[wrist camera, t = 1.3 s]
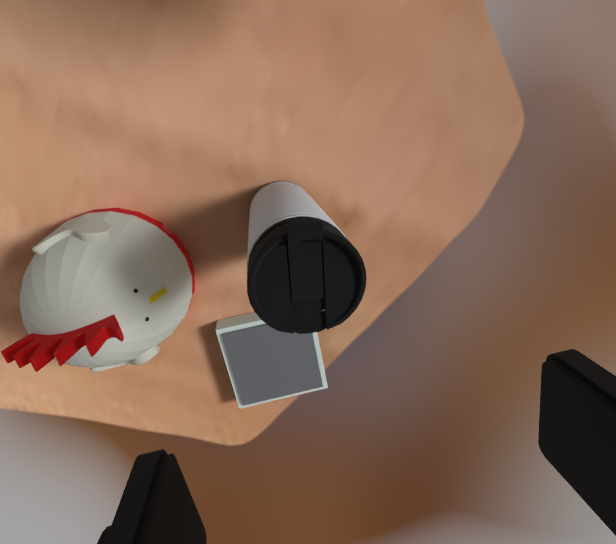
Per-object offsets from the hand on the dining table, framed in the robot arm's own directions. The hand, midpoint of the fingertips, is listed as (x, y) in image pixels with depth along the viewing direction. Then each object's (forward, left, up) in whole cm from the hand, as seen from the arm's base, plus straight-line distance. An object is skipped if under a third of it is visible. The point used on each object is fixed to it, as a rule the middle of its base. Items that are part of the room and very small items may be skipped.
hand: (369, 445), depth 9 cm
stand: (+15, -4, -30) cm, 34 cm away
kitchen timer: (+3, -17, -30) cm, 35 cm away
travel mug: (0, 0, -30) cm, 30 cm away
